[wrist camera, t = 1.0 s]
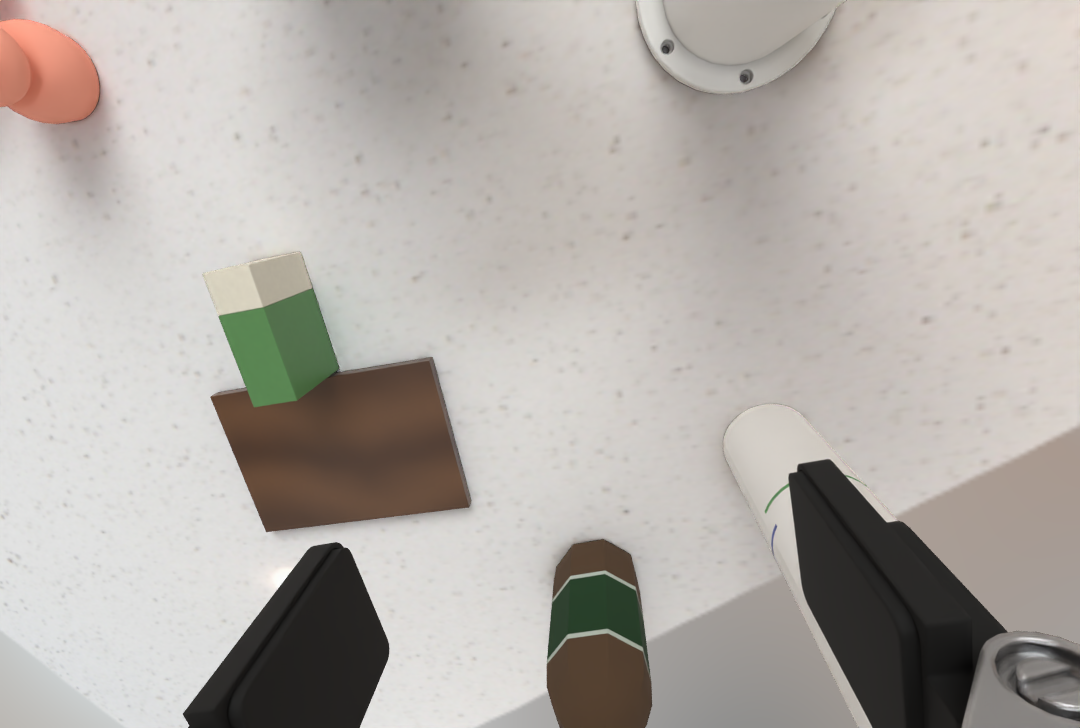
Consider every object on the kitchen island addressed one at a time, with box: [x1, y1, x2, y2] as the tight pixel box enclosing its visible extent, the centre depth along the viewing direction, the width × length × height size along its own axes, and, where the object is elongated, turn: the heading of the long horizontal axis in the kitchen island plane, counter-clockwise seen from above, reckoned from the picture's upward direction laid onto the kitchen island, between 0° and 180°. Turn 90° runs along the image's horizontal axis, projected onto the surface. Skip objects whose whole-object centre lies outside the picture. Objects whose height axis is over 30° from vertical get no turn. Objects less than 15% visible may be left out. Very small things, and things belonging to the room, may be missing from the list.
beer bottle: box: [547, 539, 652, 728], centre depth 38 cm, size 8×8×24 cm
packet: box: [203, 252, 339, 407], centre depth 41 cm, size 10×4×7 cm, turn 11°
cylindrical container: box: [723, 404, 898, 728], centre depth 32 cm, size 7×7×25 cm
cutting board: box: [211, 357, 471, 532], centre depth 47 cm, size 14×20×1 cm
